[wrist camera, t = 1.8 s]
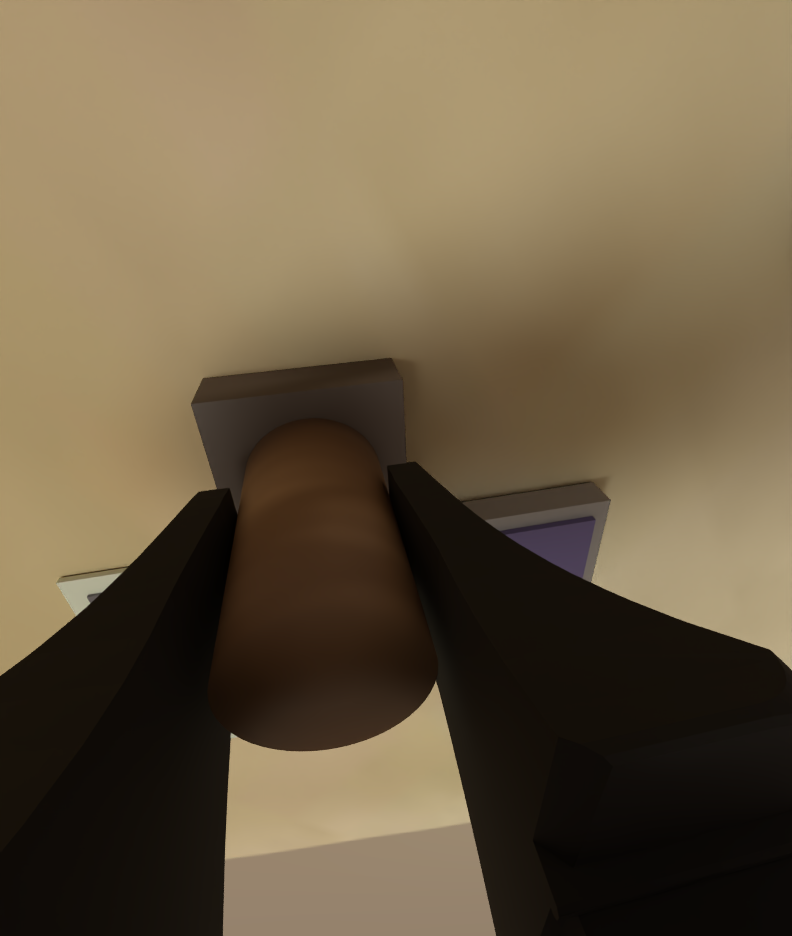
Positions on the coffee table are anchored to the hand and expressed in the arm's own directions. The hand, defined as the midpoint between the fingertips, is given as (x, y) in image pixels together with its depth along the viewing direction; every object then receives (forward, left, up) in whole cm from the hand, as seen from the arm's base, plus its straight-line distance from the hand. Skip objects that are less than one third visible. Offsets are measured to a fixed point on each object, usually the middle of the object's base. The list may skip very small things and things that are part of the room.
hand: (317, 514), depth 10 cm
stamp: (0, 0, -3) cm, 3 cm away
